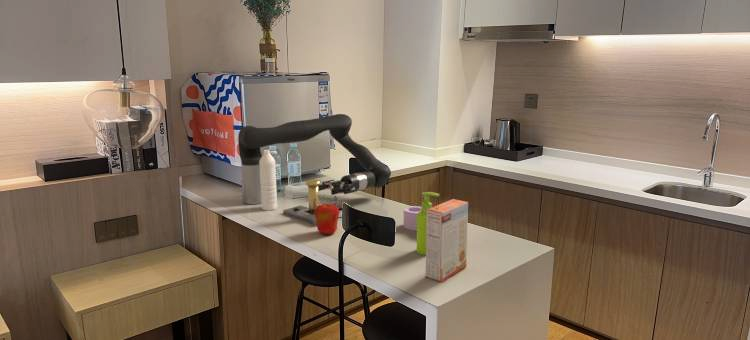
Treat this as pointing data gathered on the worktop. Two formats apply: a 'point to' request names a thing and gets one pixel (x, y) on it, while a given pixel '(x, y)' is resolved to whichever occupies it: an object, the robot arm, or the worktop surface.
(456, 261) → the cracker box
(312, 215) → the outer chain end
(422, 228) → the soap dispenser
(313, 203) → the pin
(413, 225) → the purple block with hole
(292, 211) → the inner chain end
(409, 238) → the worktop surface
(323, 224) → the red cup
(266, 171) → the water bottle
